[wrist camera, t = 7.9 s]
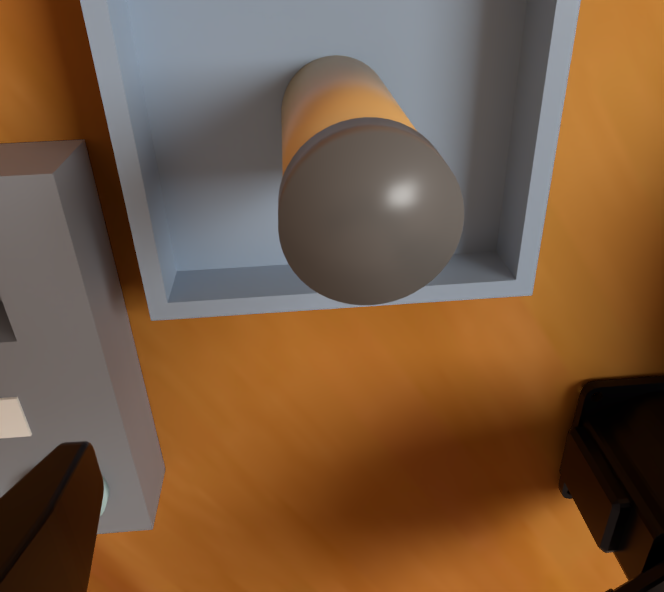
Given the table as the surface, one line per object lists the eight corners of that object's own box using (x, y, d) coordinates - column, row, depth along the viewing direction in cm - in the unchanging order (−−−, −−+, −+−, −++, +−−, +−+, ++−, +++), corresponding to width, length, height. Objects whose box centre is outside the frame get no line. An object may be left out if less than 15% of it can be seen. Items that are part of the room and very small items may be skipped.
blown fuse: (394, 49, 17) (472, 127, 10) (391, 165, 19) (456, 299, 12) (273, 53, 17) (270, 138, 10) (282, 171, 19) (284, 310, 12)
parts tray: (557, -117, 16) (601, -125, 14) (506, 258, 21) (532, 295, 19) (87, -102, 15) (56, -107, 13) (164, 280, 21) (150, 320, 19)
